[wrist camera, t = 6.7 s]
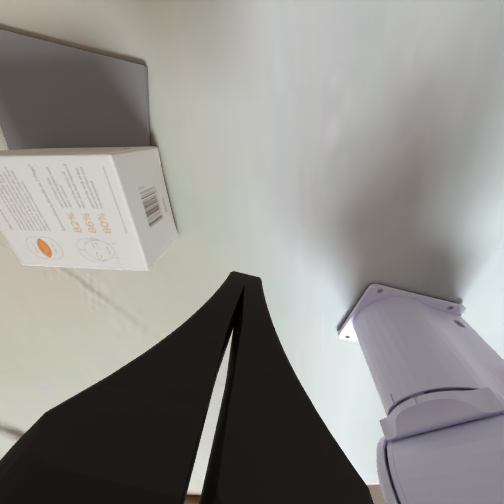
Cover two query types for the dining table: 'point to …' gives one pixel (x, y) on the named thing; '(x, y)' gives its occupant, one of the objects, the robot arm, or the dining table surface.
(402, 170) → the dining table surface
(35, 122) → the mat
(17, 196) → the small box
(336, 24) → the dining table surface
